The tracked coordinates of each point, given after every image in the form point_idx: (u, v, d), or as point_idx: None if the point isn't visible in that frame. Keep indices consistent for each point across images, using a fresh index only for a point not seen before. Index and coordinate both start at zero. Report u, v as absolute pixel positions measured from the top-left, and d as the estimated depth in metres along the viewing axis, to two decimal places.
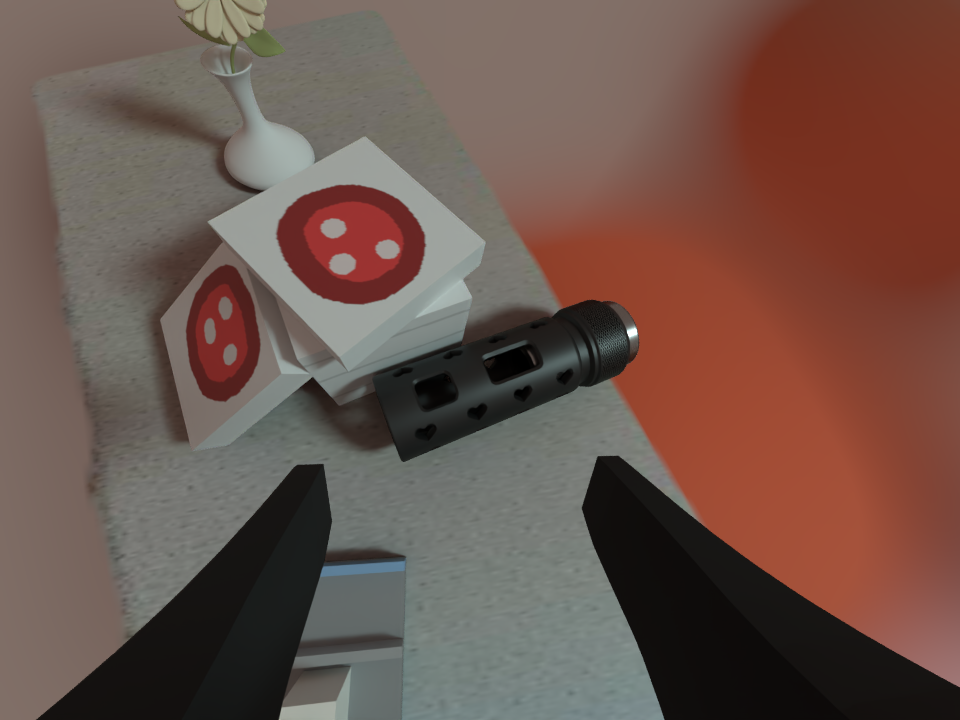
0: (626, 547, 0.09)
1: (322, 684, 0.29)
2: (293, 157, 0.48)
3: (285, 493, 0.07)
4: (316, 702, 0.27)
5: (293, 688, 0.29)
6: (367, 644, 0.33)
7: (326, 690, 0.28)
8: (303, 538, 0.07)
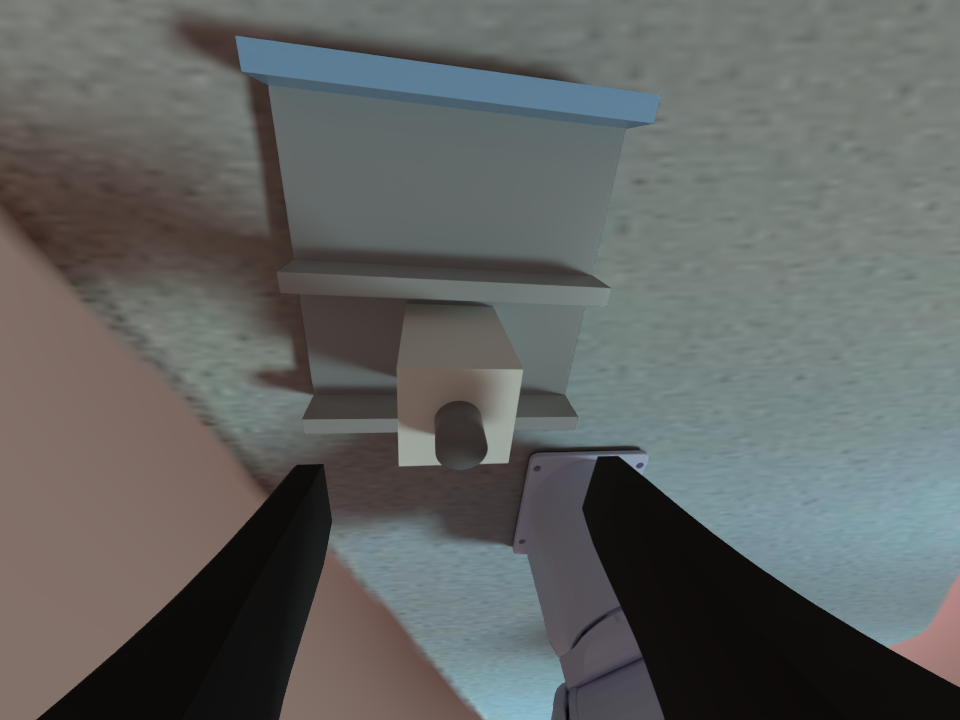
0: (626, 547, 0.09)
1: (462, 330, 0.14)
2: None
3: (285, 493, 0.07)
4: (478, 367, 0.12)
5: (406, 330, 0.14)
6: (531, 276, 0.16)
7: (480, 343, 0.13)
8: (303, 538, 0.07)
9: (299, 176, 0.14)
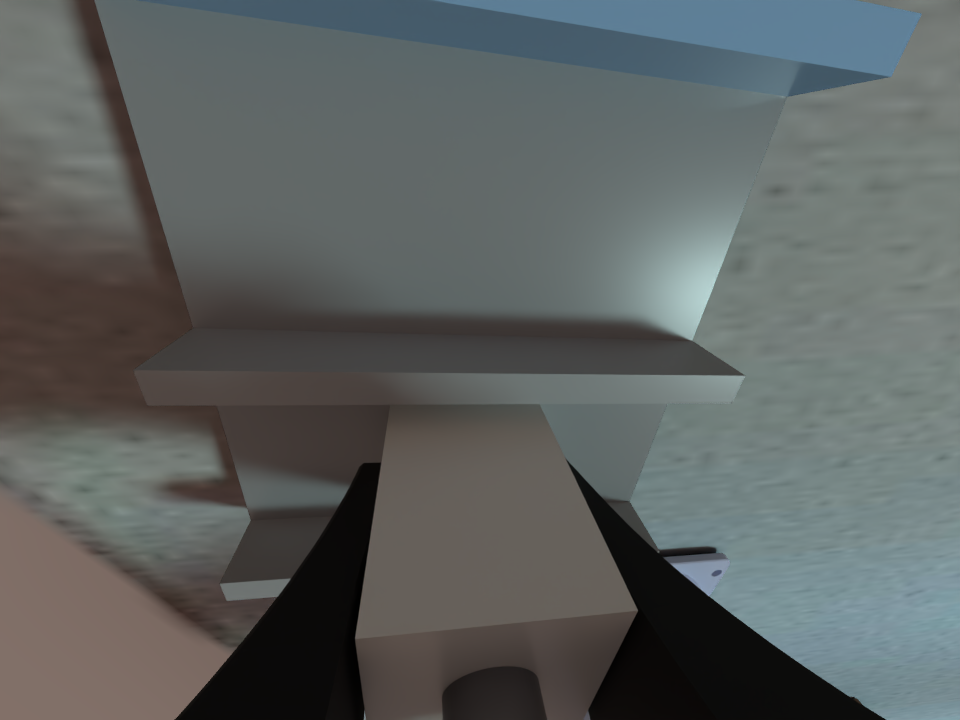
0: None
1: (492, 463, 0.08)
2: None
3: (361, 490, 0.08)
4: (541, 609, 0.05)
5: (387, 474, 0.07)
6: (601, 349, 0.09)
7: (529, 506, 0.07)
8: None
9: (185, 183, 0.07)
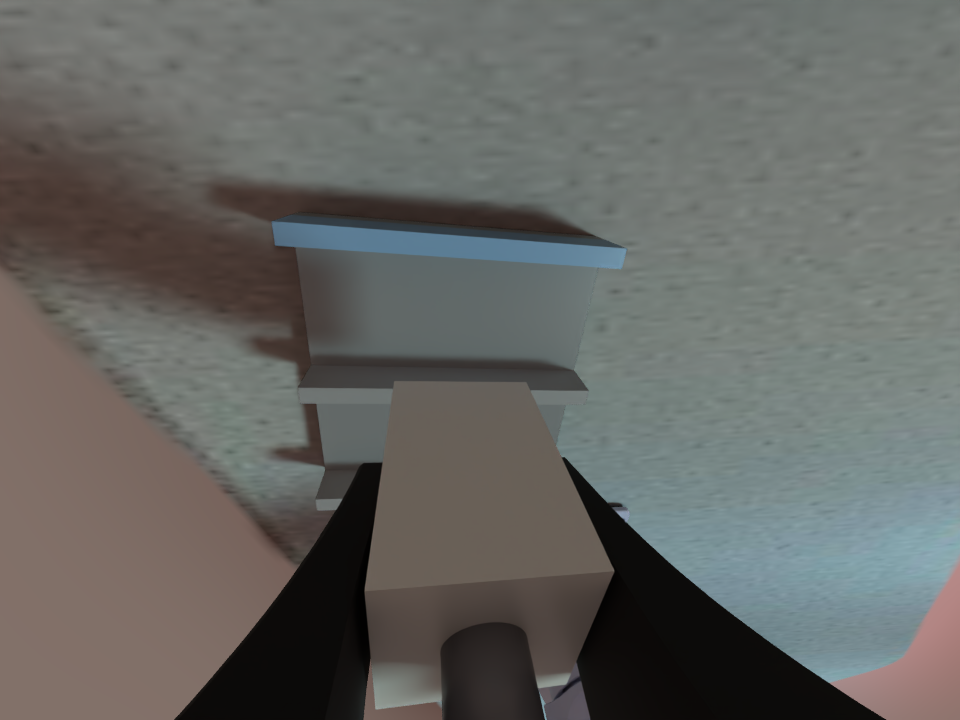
0: None
1: (486, 447, 0.08)
2: None
3: (361, 490, 0.08)
4: (529, 570, 0.06)
5: (390, 455, 0.08)
6: (519, 375, 0.18)
7: (520, 483, 0.08)
8: None
9: (318, 302, 0.16)
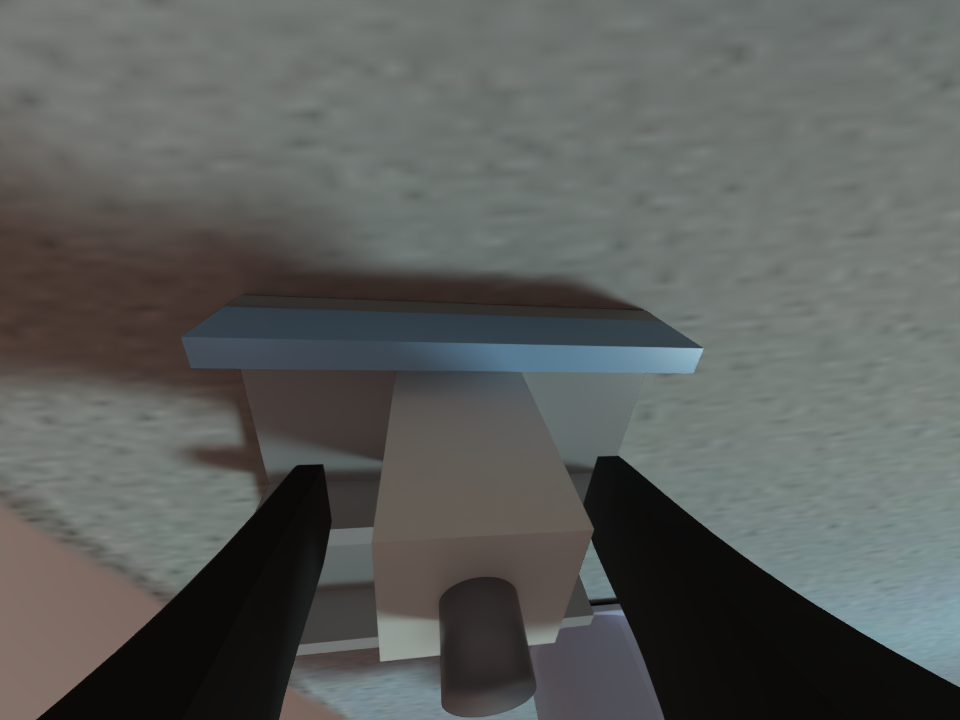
0: (626, 547, 0.09)
1: (481, 426, 0.09)
2: None
3: (285, 493, 0.07)
4: (517, 527, 0.07)
5: (393, 432, 0.09)
6: None
7: (511, 457, 0.08)
8: (303, 538, 0.07)
9: (272, 412, 0.12)
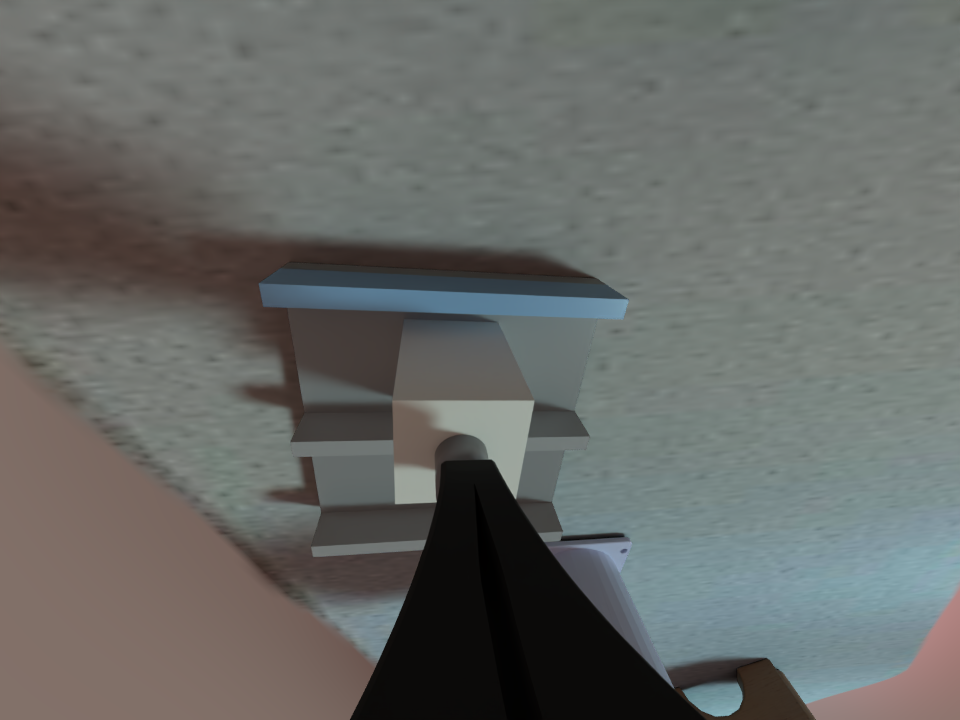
0: (478, 557, 0.08)
1: (465, 351, 0.13)
2: None
3: (454, 486, 0.08)
4: (484, 398, 0.10)
5: (403, 352, 0.12)
6: None
7: (485, 367, 0.12)
8: None
9: (310, 352, 0.15)
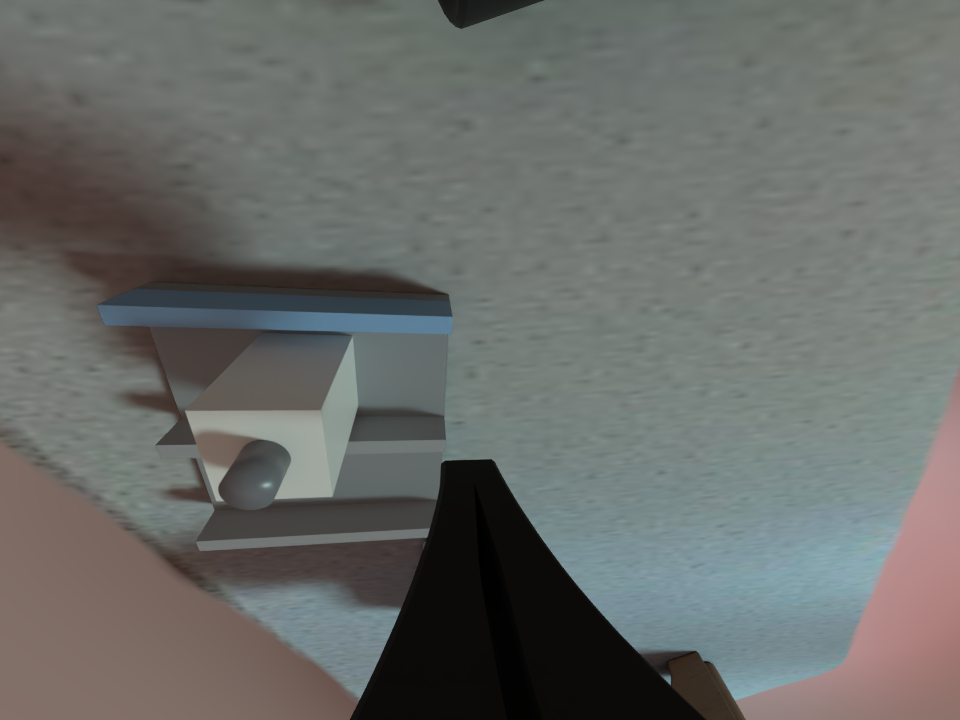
0: (478, 557, 0.08)
1: (295, 364, 0.14)
2: None
3: (454, 486, 0.08)
4: (275, 408, 0.12)
5: (232, 366, 0.14)
6: (384, 424, 0.19)
7: (300, 379, 0.13)
8: None
9: (177, 363, 0.17)
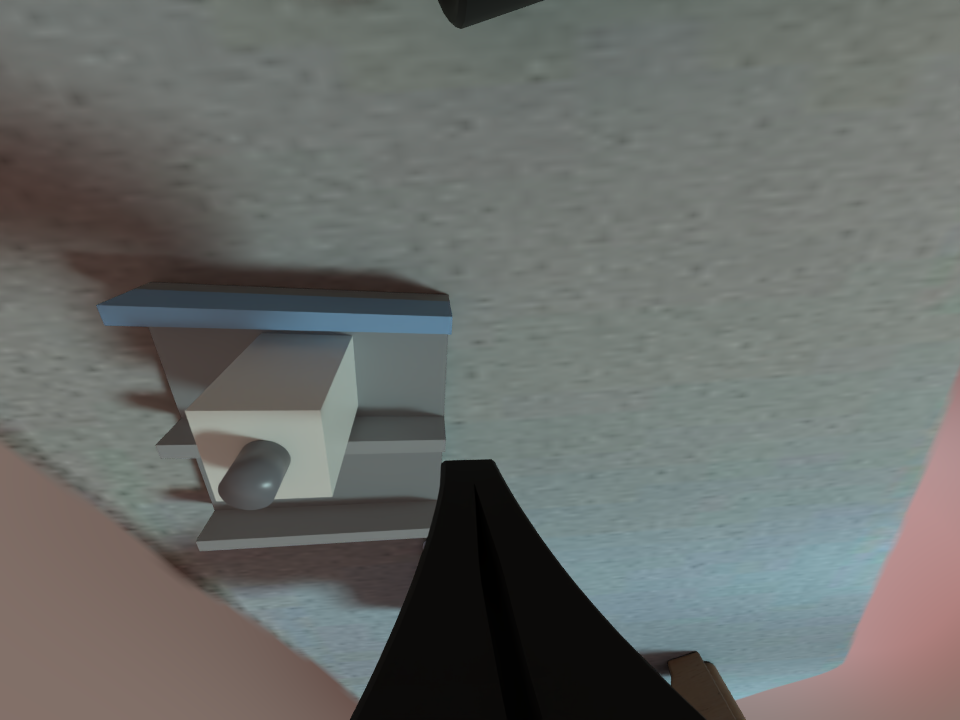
0: (478, 557, 0.08)
1: (294, 364, 0.14)
2: None
3: (454, 486, 0.08)
4: (274, 408, 0.12)
5: (232, 366, 0.14)
6: (384, 424, 0.19)
7: (300, 379, 0.13)
8: None
9: (177, 363, 0.17)
